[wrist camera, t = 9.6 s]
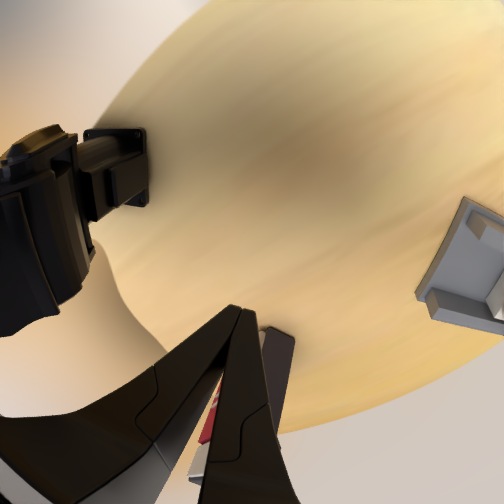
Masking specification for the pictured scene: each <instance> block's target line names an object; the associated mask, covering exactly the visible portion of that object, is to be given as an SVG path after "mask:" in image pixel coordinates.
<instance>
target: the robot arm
mask: <svg viewBox="0 0 504 504" xmlns="http://www.w3.org/2000/svg"><path fill="white" fill-rule="evenodd" d="M138 132H139V133H140V137H139V136H138ZM88 134H89V136H88ZM83 141H84V142H83V143H80V144H78V145H77V142H78V134H77V133H74V134H68V133H65V131H63V130H62V129H61V127H60V126H59V124H56V125H51V126H48V127H45V128H42V129H39V130H36V131H34V132H32V133H30V134H28V135H26V136H25V137H23V138H22V139H20V140H19V141H17V142H15V143H14V144H12V146H11V148H10V149H8V150H7V151H6V152H5V153H4V154H3V155H2V156H1V157H0V337H7V336H12V335H14V334H15V333H16V332H18V331H19V330H21V329H22V328H24V327H25V326H27V325H28V324H30V323H32V322H33V321H36V320H39V319H41V318H44V317H48V316H54V315H58V314H59V313H60V309H59V307H58V306H59V305H62V304H63V303H65V302H66V301H68V300H70V299H71V298H73V297H74V296H75V295H76V294H77V293H78V292H79V291H80V290H81V289H82V282H83V281H84V279H85V277H86V275H87V274H88V272H89V267H90V263H91V261H92V259H93V257H94V255H95V253H96V252H95V248H94V246H93V245H92V240H91V236H90V231H89V226H88V225H89V224H90V223H92V222H97V221H99V220H100V219H101V218H103V217H104V216H105V215H107V214H108V213H109V212H111V211H112V210H114V209H115V208H119V207H120V206H121V205H123V204H124V205H130V206H136V207H145V206H146V205H147V204H148V201H149V200H148V170H147V156H146V132H145V130H144V129H143V128H95V129H87V130H85V131H84V133H83ZM141 199H142V200H143V202H142V201H141ZM223 371H224V372H223ZM222 373H223V377H222V382H221V387H220V392H219V397H218V402H217V407H216V412H215V417H214V423H213V428H212V433H211V438H210V443H209V448H208V453H207V459H206V464H205V469H204V474H203V479H202V484H201V489H200V494H199V499H198V504H301V503H300V502H299V500H298V498H297V496H296V494H295V492H294V489H293V487H292V484H291V482H290V479H289V476H288V473H287V470H286V467H285V464H284V461H283V458H282V455H281V451H280V448H279V445H278V441H277V438H276V434H275V430H274V425H273V420H272V415H271V408H270V404H269V396H268V390H267V383H266V377H265V370H264V364H263V357H262V351H261V344H260V337H259V331H258V324H257V318H256V312H255V311H253V310H250V309H246V308H243V309H242V308H241V307H239V306H236V305H232V304H229V305H228V306H227V307H225V308H224V309H223V310H222V311H220V312H219V313H218V314H217V315H215V316H214V317H213V318H212V319H210V320H209V321H208V322H207V323H205V324H204V325H203V326H202V327H200V328H199V329H198V330H197V331H195V332H194V333H193V334H192V335H190V336H189V337H188V338H187V339H185V340H184V341H183V342H181V343H180V344H179V345H178V346H176V347H175V348H174V349H173V350H171V351H170V352H169V353H167V354H166V355H165V356H164V357H162V358H161V359H160V360H158V361H157V362H156V363H155V364H154V366H151V367H149V368H148V369H147V370H145V371H144V372H143V373H141V374H140V375H138V376H137V377H136V378H134V379H133V380H131V381H130V382H128V383H127V384H125V385H123V386H122V387H120V388H118V389H117V390H115V391H113V392H112V393H110V394H108V395H106V396H104V397H102V398H101V399H99V400H97V401H95V402H93V403H91V404H90V405H88V406H86V407H84V408H82V409H80V410H77V411H75V412H71V413H68V414H62V415H52V416H41V417H40V416H39V417H20V418H9V417H4V416H2V415H1V414H0V504H154V503H155V501H156V500H157V498H158V496H159V494H160V492H161V491H162V489H163V487H164V485H165V483H166V481H167V480H168V478H169V476H170V474H171V471H172V470H173V468H174V466H175V465H176V463H177V461H178V459H179V457H180V455H181V454H182V452H183V450H184V448H185V446H186V444H187V442H188V440H189V438H190V436H191V434H192V433H193V431H194V429H195V427H196V425H197V423H198V421H199V419H200V417H201V415H202V413H203V411H204V409H205V407H206V405H207V403H208V402H209V400H210V398H211V396H212V394H213V392H214V390H215V388H216V386H217V384H218V382H219V380H220V378H221V376H222Z"/></svg>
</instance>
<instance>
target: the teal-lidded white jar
mask: <svg viewBox="0 0 504 504" xmlns="http://www.w3.org/2000/svg"><path fill="white" fill-rule="evenodd" d="M486 302H487V304H488V306H489V308H490V310H491V312H492V314H493V317H494V318H497V319H500V320H504V272H503V273H502V275H501V277H500V278H499V280H498V281H497V283H496V284H495V286H494V288H493V289H492V291H491V292H490V294H489V295H488V297H487V298H486Z"/></svg>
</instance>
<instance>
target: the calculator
mask: <svg viewBox="0 0 504 504" xmlns="http://www.w3.org/2000/svg"><path fill="white" fill-rule="evenodd" d="M259 337H260V344H261V351H262V357H263V364H264V370H265V377H266V383H267V390H268V396H269V404H270V408H271V415H272V420H273V425H274V430H275V434H276V438H277V432H278V427H279V423H280V418H281V413H282V409H283V404H284V399H285V394H286V389H287V384H288V379H289V373H290V368H291V362H292V357H293V351H294V345H295V339H293V338H291V337H289V336H287V335H285V334H283V333H281V332H279V331H277V330H275V329H272V328H270V327H269V328H268V329H267V330H266V331H265V332H263V331H260V332H259ZM221 382H222V379H221ZM221 382H220V385H219V387H218V390H217V393H216V395H215V398H214V401H213V404H212V406H211V409H210V412H209V414H208V417H207V419H206V422H205V425H204V427H203V430H202V432H201V435H200V438H199V440H198V442H199V443H201V444H202V445H201V446H199V447H198V448H197V451H196V453H195V456H194V459H193V461H192V464H191V467H190V469H189V471H188V474H187V476H189V481H190V482H192V483H195V484H198V485H201V484H202V479H203V474H204V469H205V464H206V459H207V453H208V448H209V443H210V438H211V433H212V428H213V423H214V417H215V412H216V407H217V402H218V397H219V392H220V387H221ZM277 441H278V438H277ZM278 445H279V448H280V450H281V447H280V444H279V441H278Z"/></svg>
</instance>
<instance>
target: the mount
mask: <svg viewBox="0 0 504 504" xmlns="http://www.w3.org/2000/svg"><path fill="white" fill-rule="evenodd" d="M503 272H504V218H503V217H502V216H500V215H498V214H496V213H494V212H493V211H491V210H489V209H487V208H485V207H483V206H481V205H480V204H478V203H476V202H474V201H472V200H470V199H468V198H466V197H464V198H463V200H462V202H461V205H460V207H459V209H458V212H457V214H456V216H455V218H454V221H453V223H452V225H451V227H450V229H449V231H448V233H447V235H446V237H445V239H444V241H443V243H442V245H441V247H440V249H439V251H438V253H437V255H436V257H435V259H434V261H433V262H432V264H431V266H430V268H429V270H428V271H427V273H426V275H425V277H424V278H423V280H422V282H421V283H420V285H419V287H418V288H417V290H416V292H415V295H416V298H417V301H421V302H425V303H426V305H427V308H428V311H429V314H430V317H431V319H433V320H437V321H442V322H446V323H450V324H454V325H459V326H463V327H467V328H472V329H476V330H481V331H485V332H489V333H494V334H499V335H503V336H504V320H500V319H497V318H494V317H493V314H492V312H491V310H490V308H489V306H488V304H487V302H486V298H487V297H488V295H489V294H490V292H491V291H492V289H493V288H494V286H495V284H496V283H497V281H498V280H499V278H500V277H501V275H502V273H503Z"/></svg>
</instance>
